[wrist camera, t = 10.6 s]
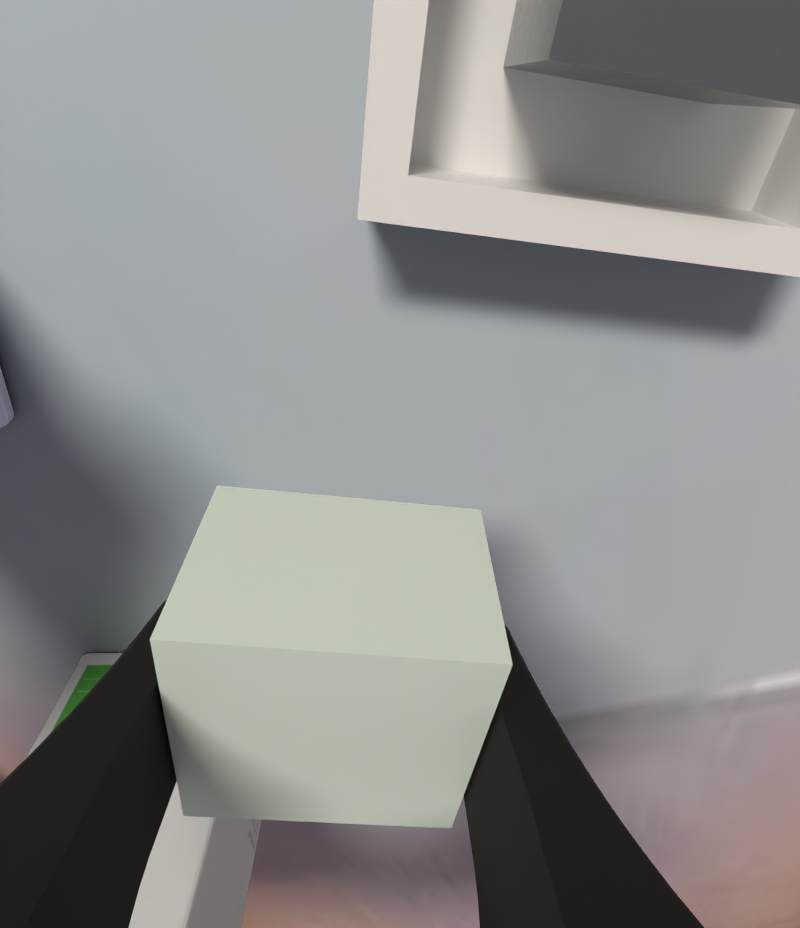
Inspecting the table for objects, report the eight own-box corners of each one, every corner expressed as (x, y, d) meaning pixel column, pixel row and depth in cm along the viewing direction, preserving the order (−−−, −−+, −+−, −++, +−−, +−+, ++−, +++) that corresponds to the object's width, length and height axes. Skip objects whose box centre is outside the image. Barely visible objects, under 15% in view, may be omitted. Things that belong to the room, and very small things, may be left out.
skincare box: (261, 645, 25) (118, 1251, 12) (284, 729, 29) (194, 1262, 16) (73, 651, 25) (-271, 1259, 12) (120, 734, 29) (-104, 1267, 16)
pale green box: (438, 670, 14) (450, 827, 11) (229, 655, 13) (183, 815, 10) (480, 509, 11) (512, 664, 8) (216, 485, 10) (149, 638, 8)
